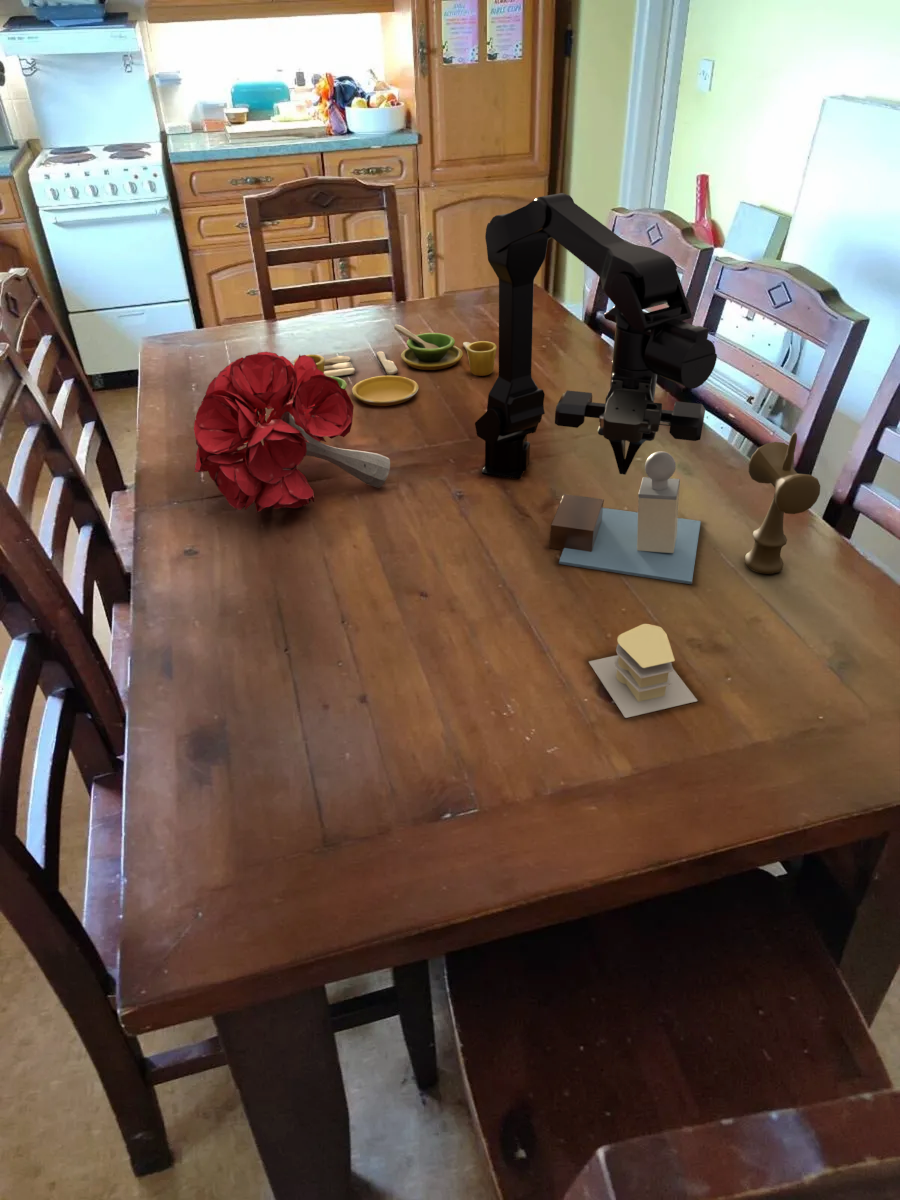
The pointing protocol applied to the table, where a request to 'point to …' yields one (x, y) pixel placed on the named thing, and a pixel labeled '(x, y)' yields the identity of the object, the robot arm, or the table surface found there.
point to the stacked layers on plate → (642, 673)
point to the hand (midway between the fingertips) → (623, 473)
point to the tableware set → (421, 354)
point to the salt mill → (658, 505)
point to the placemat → (621, 555)
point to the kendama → (778, 501)
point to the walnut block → (576, 523)
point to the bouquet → (275, 431)
